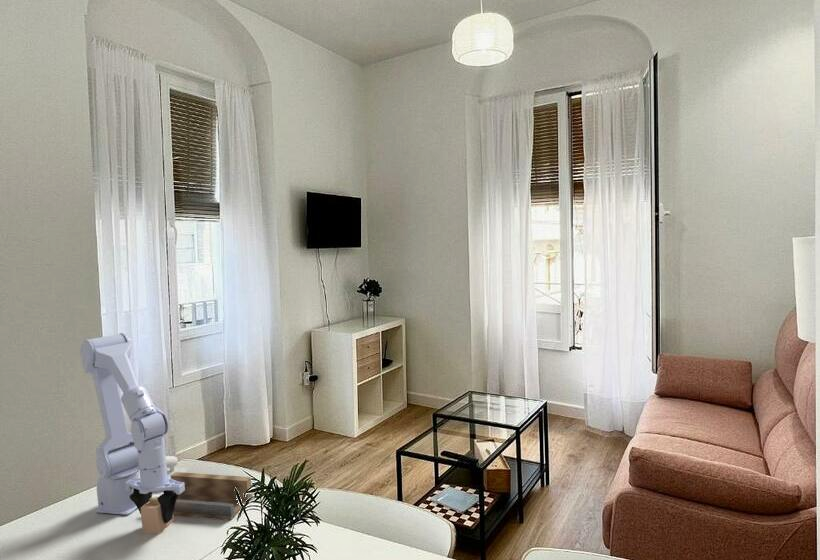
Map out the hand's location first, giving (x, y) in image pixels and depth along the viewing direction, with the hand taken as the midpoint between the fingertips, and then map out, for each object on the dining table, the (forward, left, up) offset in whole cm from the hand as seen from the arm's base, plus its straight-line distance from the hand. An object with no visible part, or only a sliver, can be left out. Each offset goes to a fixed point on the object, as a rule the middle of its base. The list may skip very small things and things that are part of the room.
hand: (157, 519), depth 121 cm
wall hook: (-12, +20, -2) cm, 23 cm away
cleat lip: (+5, +6, -1) cm, 8 cm away
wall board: (+5, +10, -2) cm, 11 cm away
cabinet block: (0, 0, -2) cm, 2 cm away
